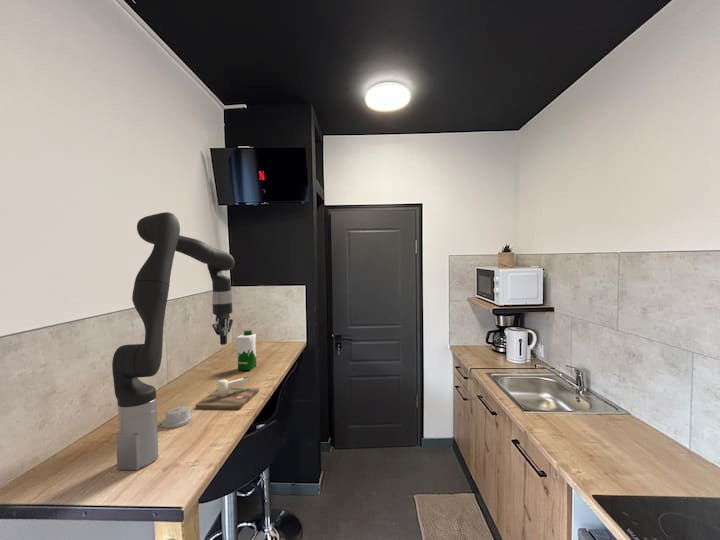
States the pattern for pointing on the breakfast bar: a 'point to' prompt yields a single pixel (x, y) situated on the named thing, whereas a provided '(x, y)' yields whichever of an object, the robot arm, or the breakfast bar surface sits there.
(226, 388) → the peg
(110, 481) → the breakfast bar surface
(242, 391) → the board
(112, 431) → the breakfast bar surface
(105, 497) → the breakfast bar surface
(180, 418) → the mechanical component
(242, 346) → the milk carton
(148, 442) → the robot arm
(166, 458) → the breakfast bar surface
